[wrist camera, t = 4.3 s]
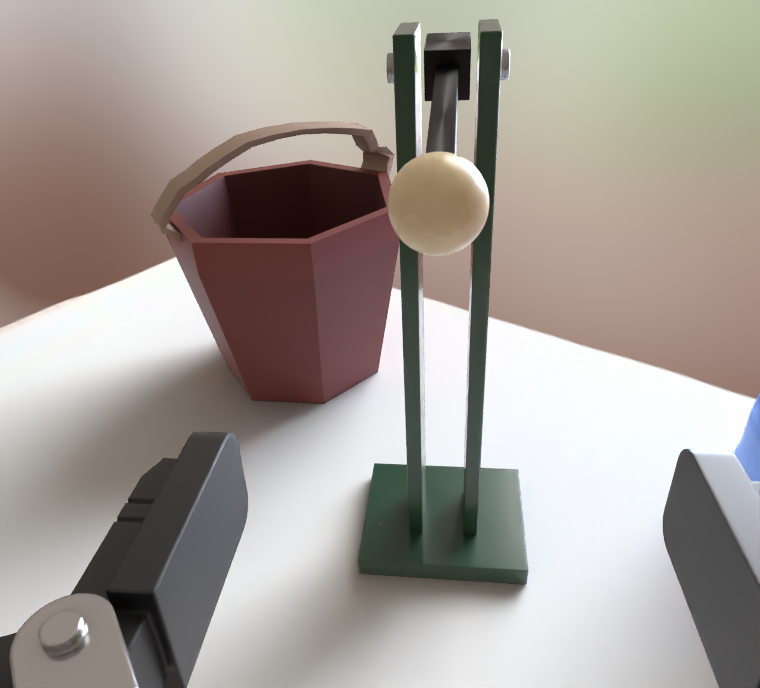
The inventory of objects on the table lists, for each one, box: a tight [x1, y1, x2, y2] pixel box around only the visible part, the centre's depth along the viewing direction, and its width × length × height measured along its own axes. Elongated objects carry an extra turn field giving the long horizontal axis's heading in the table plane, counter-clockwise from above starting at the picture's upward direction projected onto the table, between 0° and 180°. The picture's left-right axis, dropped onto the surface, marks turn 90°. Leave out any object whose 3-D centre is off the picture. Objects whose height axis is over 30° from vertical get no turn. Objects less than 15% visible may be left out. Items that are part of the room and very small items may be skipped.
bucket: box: [151, 122, 400, 404], centre depth 63 cm, size 24×22×25 cm
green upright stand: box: [358, 19, 528, 584], centre depth 40 cm, size 10×12×35 cm
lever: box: [387, 32, 489, 256], centre depth 26 cm, size 17×3×3 cm, turn 174°
